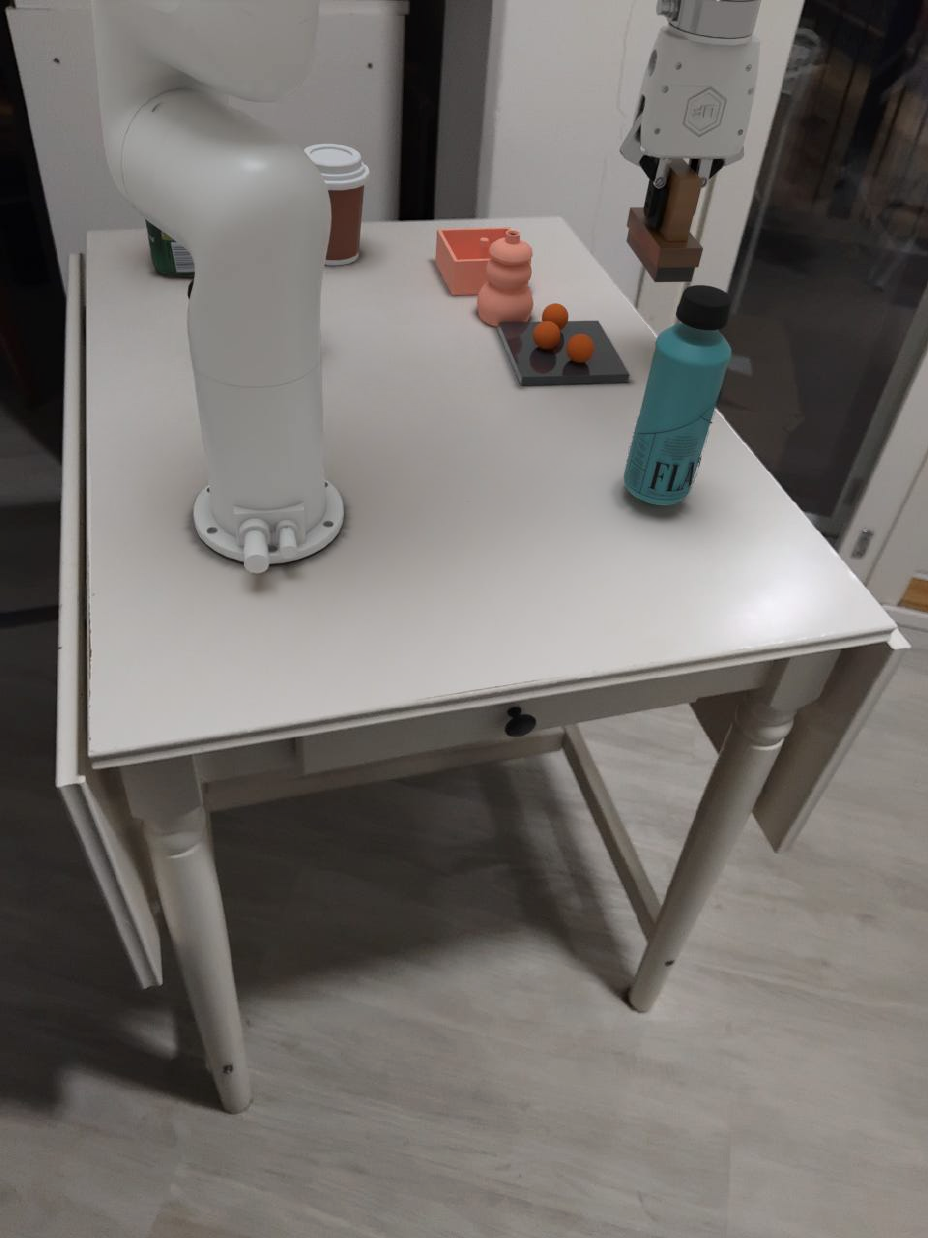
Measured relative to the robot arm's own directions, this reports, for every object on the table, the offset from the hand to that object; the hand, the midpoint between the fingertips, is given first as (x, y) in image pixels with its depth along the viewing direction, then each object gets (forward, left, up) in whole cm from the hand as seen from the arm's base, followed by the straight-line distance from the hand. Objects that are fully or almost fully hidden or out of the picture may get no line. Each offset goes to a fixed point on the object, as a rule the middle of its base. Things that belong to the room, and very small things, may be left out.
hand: (666, 221), depth 96 cm
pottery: (+15, +14, -15) cm, 26 cm away
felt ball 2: (0, +11, -13) cm, 16 cm away
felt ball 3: (-3, +8, -13) cm, 15 cm away
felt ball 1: (+4, +9, -13) cm, 16 cm away
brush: (0, 0, -4) cm, 4 cm away
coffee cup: (+26, +32, -15) cm, 44 cm away
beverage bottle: (-26, +7, -15) cm, 31 cm away
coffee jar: (+24, +50, -15) cm, 57 cm away
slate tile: (0, +9, -15) cm, 17 cm away
